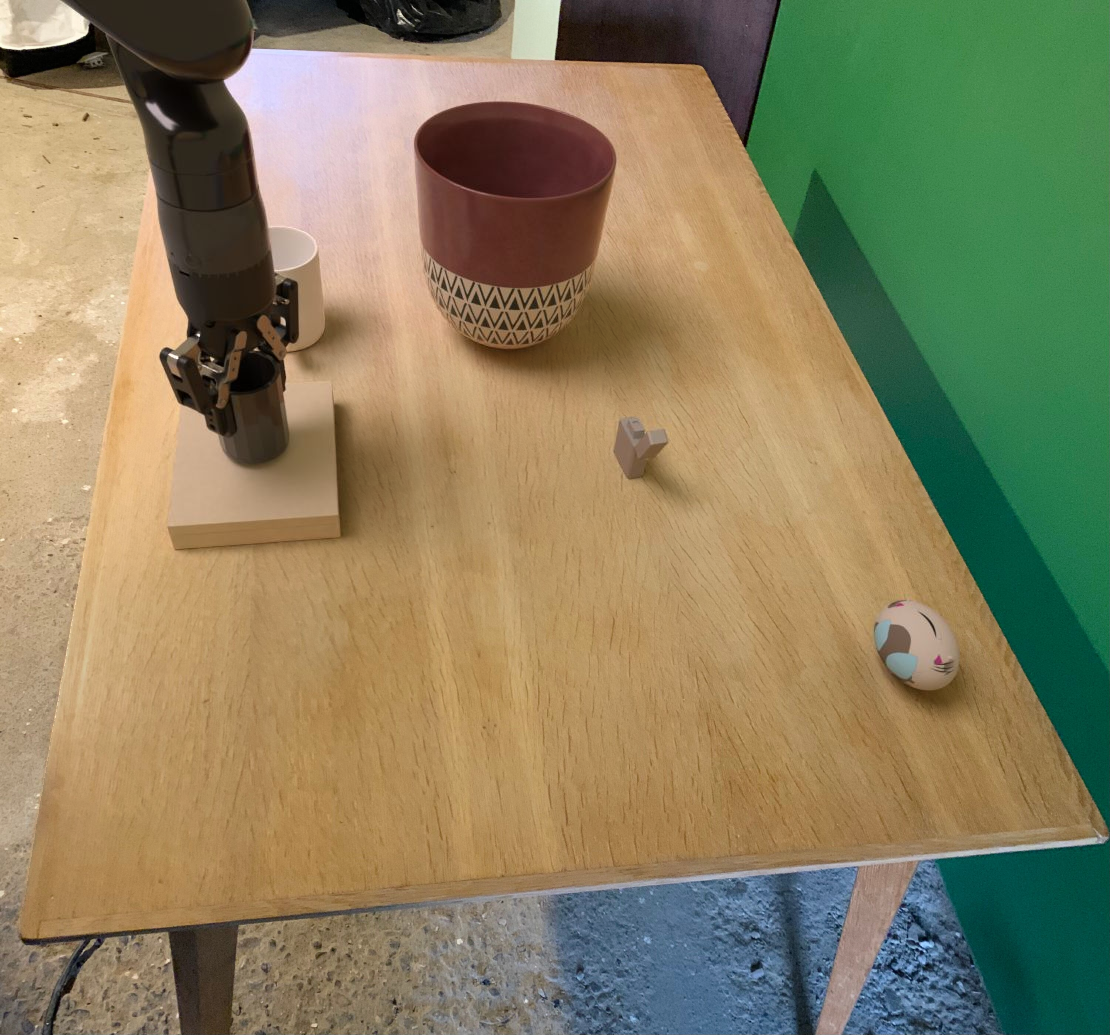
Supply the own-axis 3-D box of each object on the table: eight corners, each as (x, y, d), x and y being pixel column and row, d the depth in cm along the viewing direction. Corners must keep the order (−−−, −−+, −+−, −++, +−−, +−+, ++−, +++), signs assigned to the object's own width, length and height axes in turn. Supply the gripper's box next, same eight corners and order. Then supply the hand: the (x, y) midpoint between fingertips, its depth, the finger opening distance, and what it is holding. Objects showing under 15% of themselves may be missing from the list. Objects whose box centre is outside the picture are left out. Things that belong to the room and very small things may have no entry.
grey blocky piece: (612, 450, 95) (624, 388, 89) (628, 447, 95) (641, 386, 90) (638, 500, 91) (652, 439, 85) (654, 497, 91) (670, 437, 85)
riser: (340, 537, 84) (338, 514, 82) (173, 549, 81) (166, 526, 79) (334, 403, 96) (331, 380, 93) (188, 410, 93) (182, 386, 91)
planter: (400, 287, 110) (395, 105, 94) (558, 272, 115) (579, 96, 100) (438, 395, 98) (440, 206, 82) (613, 372, 103) (646, 191, 88)
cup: (320, 303, 106) (312, 222, 99) (336, 371, 99) (328, 288, 91) (243, 310, 104) (229, 228, 97) (254, 380, 97) (239, 296, 89)
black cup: (260, 473, 83) (247, 404, 77) (206, 447, 84) (189, 377, 79) (303, 434, 87) (294, 365, 81) (250, 410, 88) (238, 340, 82)
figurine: (845, 639, 82) (872, 591, 77) (903, 624, 84) (932, 577, 79) (895, 717, 77) (927, 672, 72) (955, 701, 79) (990, 655, 74)
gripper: (241, 187, 76) (268, 353, 88) (106, 269, 67) (156, 442, 79) (318, 217, 74) (334, 382, 87) (190, 306, 65) (228, 477, 78)
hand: (249, 410), depth 83 cm, fingers closed on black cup, 6 cm apart
